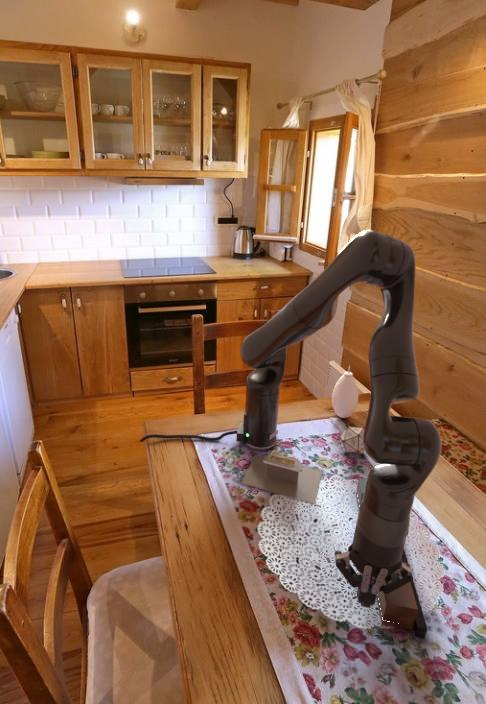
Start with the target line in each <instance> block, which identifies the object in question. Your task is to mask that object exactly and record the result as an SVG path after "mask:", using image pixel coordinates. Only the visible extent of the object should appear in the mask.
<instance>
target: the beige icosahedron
mask: <svg viewBox="0 0 486 704" xmlns="http://www.w3.org/2000/svg"><path fill="white" fill-rule="evenodd" d="M364 426H365V425H363V426H361V427H360V426H349V425H348V424H347V423H345V427H346V428H345V429H344V431H343V432H342V434H341V435H337V438H340V440H341V441H340V442H341V443H342V446H343V448H344V450H345V452H344V456H346V455H347V454H357V455H360V454H361V455H362V456H363V457H365V452H366V451H365V449H364V446H363V431H364Z"/></svg>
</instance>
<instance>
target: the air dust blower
mask: <svg viewBox="0 0 486 704" xmlns="http://www.w3.org/2000/svg"><path fill="white" fill-rule="evenodd" d="M358 404H359V389H358V384H357V382H356V379H355V377H354V374H353V372H351V365H348V370H347V371H344V373H343V375H341V376H340V377H339V379H338V380H337V382H336V383H335V385H334V388H333V390H332V394H331V406H332V409H333V412H334V414H335V415H336V416H338V417H339V418H341V419H347V418H349V417H351V416H352V415H353V414H354V413H355V411H356V410H357V407H358Z"/></svg>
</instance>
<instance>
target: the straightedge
mask: <svg viewBox="0 0 486 704" xmlns="http://www.w3.org/2000/svg"><path fill="white" fill-rule="evenodd" d="M401 561H402V563H408V564H409V561H408V557H407V554H406V551H405V548H404V549H403V553H402V557H401ZM410 583H411V586H412V590H413V594H414V597H415V601H416V604H417V608H418V612H417V616H416V619H415V623H414V627H413V630H412V632H413V636H414V638H419V639H425V638H426V635H427V631H428V626H427V622H426V618H425V616H424V612H423V609H422V605H421V602H420V599H419V595H418V590H417V588H416V585H415V582H414V579H413V580H412V581H410Z"/></svg>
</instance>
